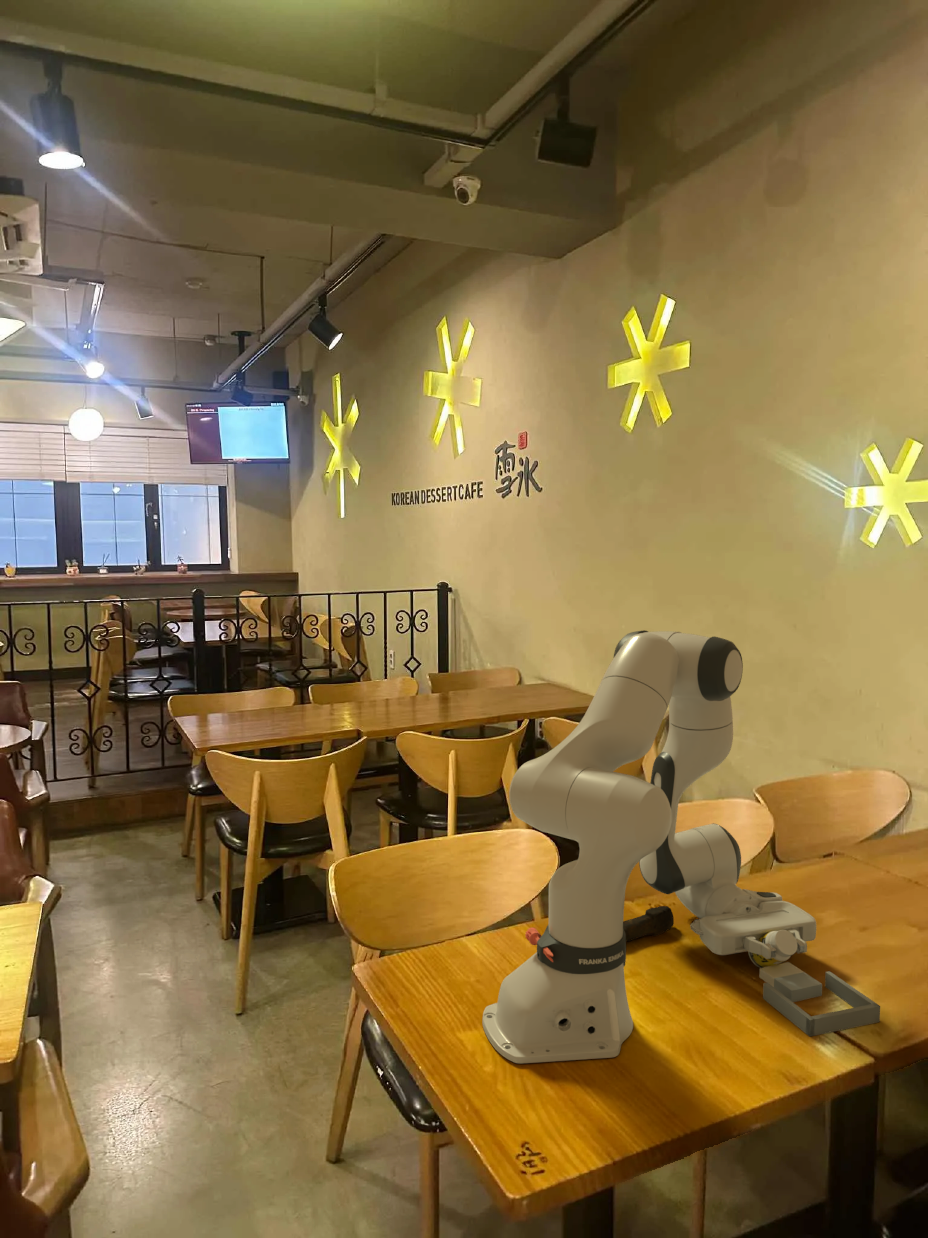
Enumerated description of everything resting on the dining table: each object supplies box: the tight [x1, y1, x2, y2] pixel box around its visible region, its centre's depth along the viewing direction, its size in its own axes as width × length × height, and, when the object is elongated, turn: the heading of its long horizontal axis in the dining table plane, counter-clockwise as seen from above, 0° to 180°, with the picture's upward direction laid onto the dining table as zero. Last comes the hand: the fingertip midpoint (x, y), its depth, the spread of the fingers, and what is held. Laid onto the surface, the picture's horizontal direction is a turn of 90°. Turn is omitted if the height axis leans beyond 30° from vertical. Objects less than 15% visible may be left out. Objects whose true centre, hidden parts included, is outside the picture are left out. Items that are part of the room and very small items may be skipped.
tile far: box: [758, 961, 804, 987], centre depth 136 cm, size 6×4×2 cm, turn 110°
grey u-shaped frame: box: [762, 970, 881, 1037], centre depth 127 cm, size 13×11×2 cm
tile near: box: [774, 971, 823, 1003], centre depth 132 cm, size 6×4×2 cm, turn 110°
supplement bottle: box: [747, 930, 797, 969], centre depth 138 cm, size 5×5×8 cm
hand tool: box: [623, 905, 675, 942], centre depth 151 cm, size 19×4×5 cm, turn 117°
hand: (787, 951), depth 134 cm, fingers closed on supplement bottle, 5 cm apart
